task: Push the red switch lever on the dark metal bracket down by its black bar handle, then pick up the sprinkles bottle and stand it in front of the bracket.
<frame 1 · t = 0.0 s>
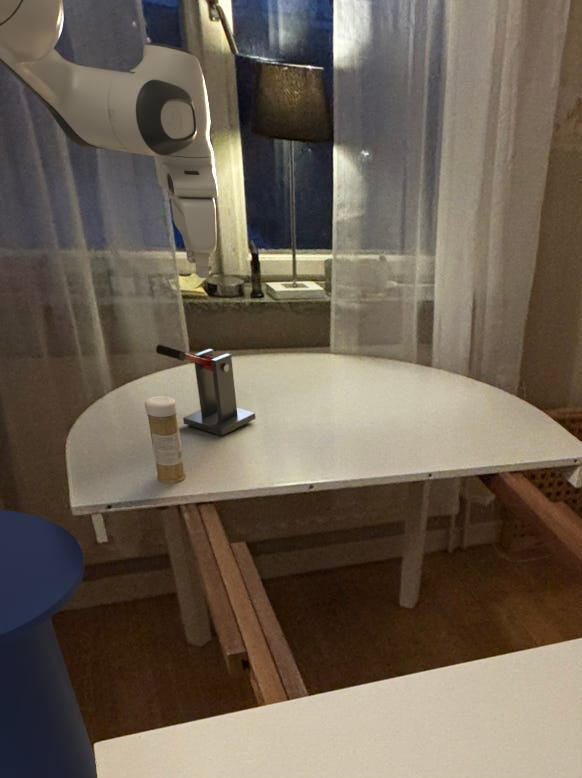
hand: (198, 269, 129), 28 cm above the table, tool pointing down, fingers open, 8 cm apart
bracket: (220, 421, 148), on the table
sprinkles bottle: (172, 480, 128), on the table
lever: (194, 359, 136), point 13 cm above the table, hinge at 25.0°
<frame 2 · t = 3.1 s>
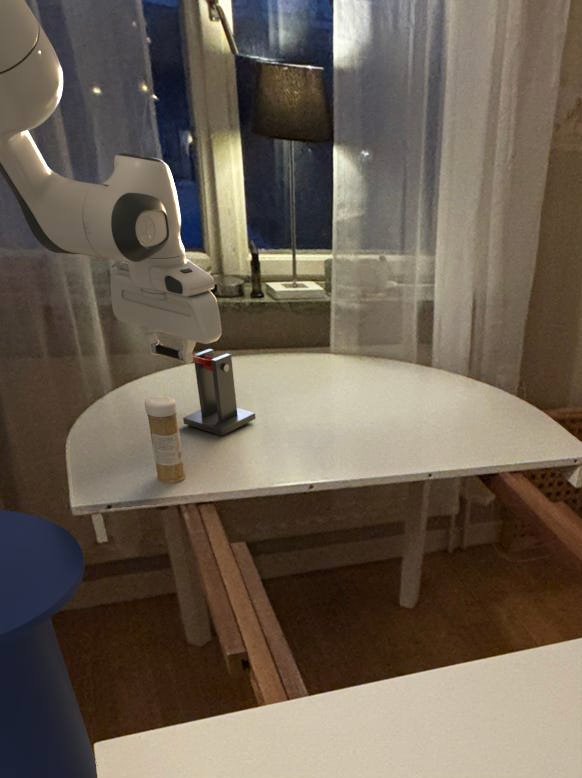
hand: (171, 358, 131), 15 cm above the table, tool pointing down, fingers closed on lever, 5 cm apart
lever: (194, 359, 136), point 13 cm above the table, hinge at 25.0°, touching gripper
everything else where it was.
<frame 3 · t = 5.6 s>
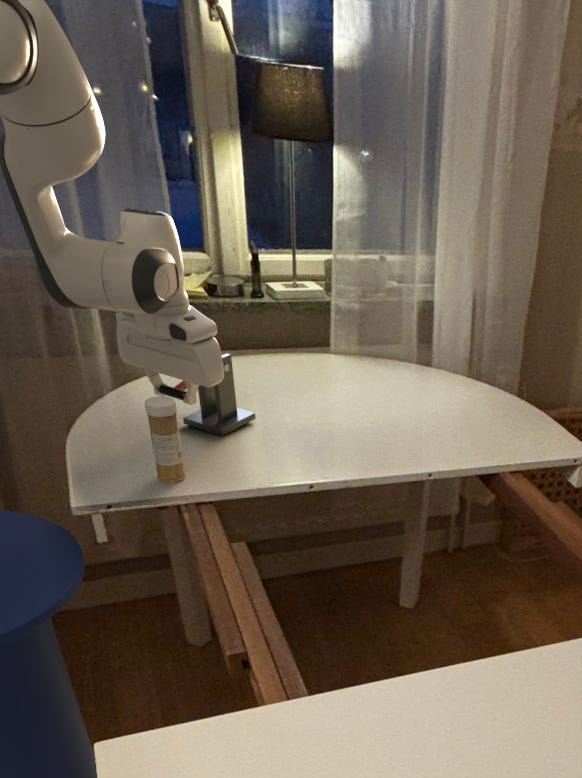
hand: (176, 399, 135), 8 cm above the table, tool pointing down, fingers closed on lever, 5 cm apart
lever: (195, 377, 138), point 10 cm above the table, hinge at -11.0°, touching gripper
everything else where it was.
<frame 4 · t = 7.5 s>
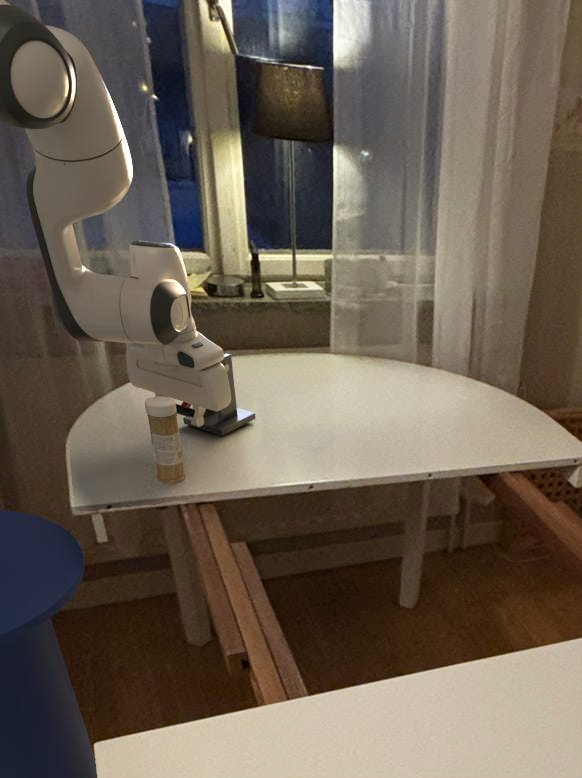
hand: (184, 420, 139), 3 cm above the table, tool pointing down, fingers closed on lever, 5 cm apart
lever: (199, 386, 140), point 8 cm above the table, hinge at -32.0°, touching gripper
everything else where it was.
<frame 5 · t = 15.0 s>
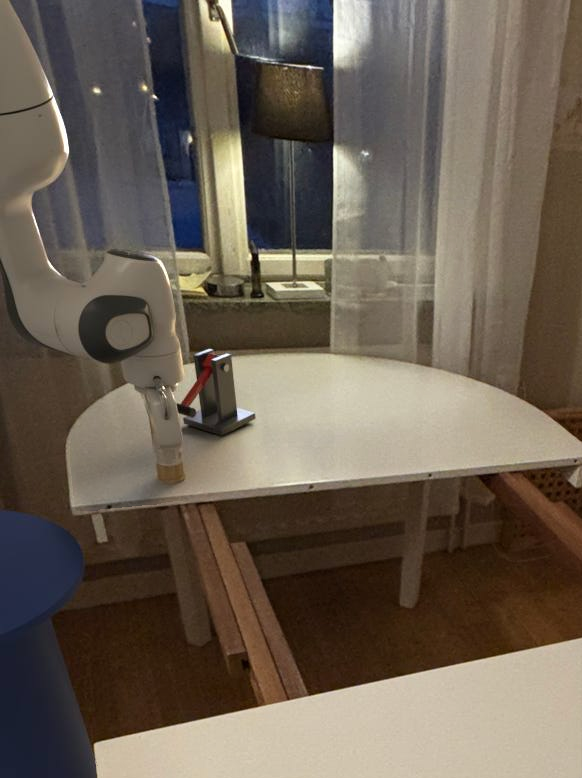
hand: (167, 450, 125), 5 cm above the table, tool pointing down, fingers closed on sprinkles bottle, 4 cm apart
sprinkles bottle: (172, 480, 128), on the table, touching gripper
lever: (198, 385, 139), point 8 cm above the table, hinge at -30.6°
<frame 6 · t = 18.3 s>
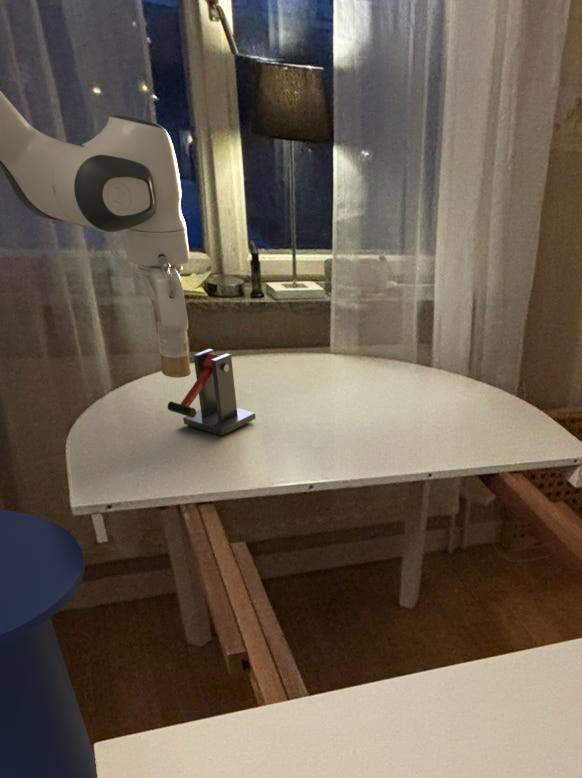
hand: (172, 342, 122), 20 cm above the table, tool pointing down, fingers closed on sprinkles bottle, 4 cm apart
sprinkles bottle: (176, 375, 125), point 15 cm above the table, touching gripper
everything else where it was.
when the fingers open (5 cm above the table, at t = 21.9 s): sprinkles bottle stays where it is, on the table.
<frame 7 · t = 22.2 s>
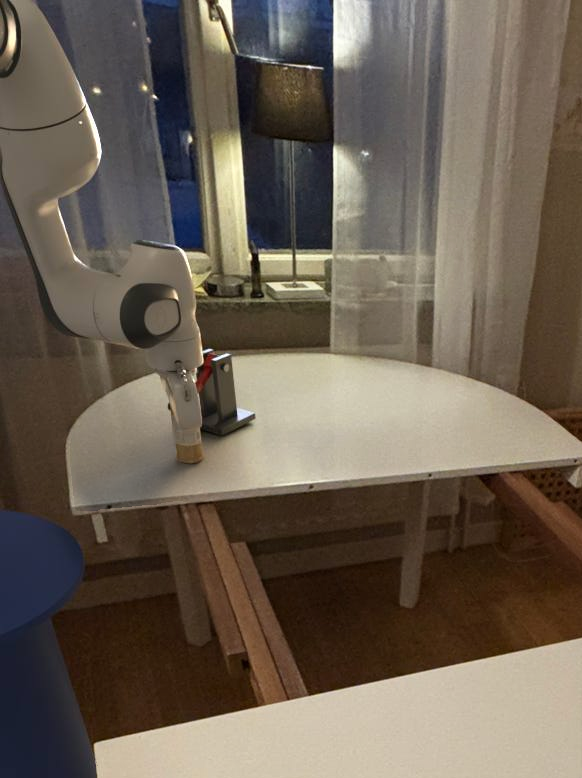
hand: (185, 432, 132), 5 cm above the table, tool pointing down, fingers open, 7 cm apart
sprinkles bottle: (190, 460, 135), on the table
everything else where it was.
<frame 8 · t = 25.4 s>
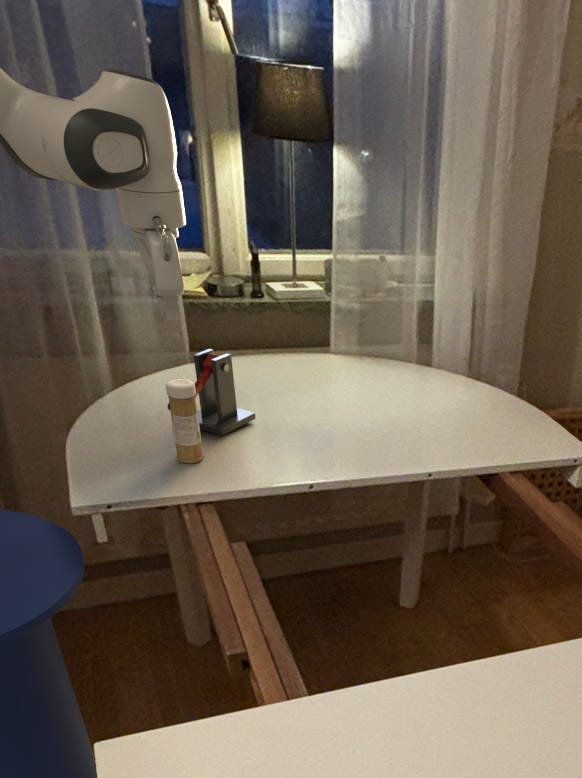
hand: (167, 310, 119), 25 cm above the table, tool pointing down, fingers open, 8 cm apart
nothing on the table moved.
at the end: lever at -31° (first picture: +25°); sprinkles bottle inside the target area on the table beside the bracket (0.2 cm from its centre), on the table; sprinkles bottle tilted 2° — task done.
